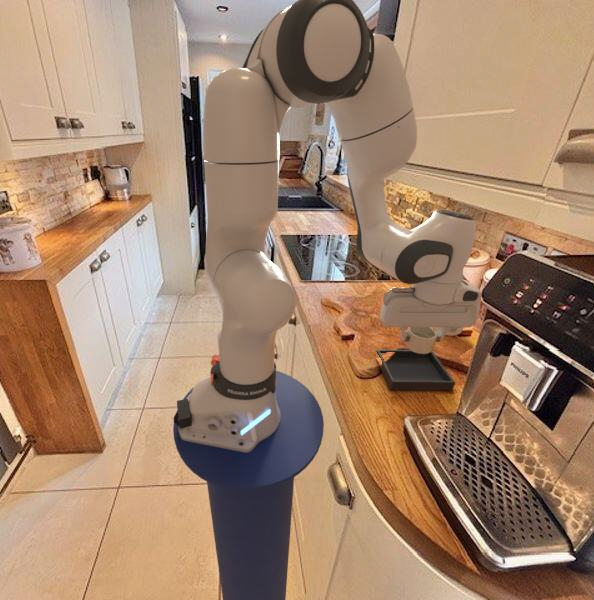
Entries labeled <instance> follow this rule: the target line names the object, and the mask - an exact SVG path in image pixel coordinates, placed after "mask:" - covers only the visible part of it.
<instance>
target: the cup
mask: <svg viewBox="0 0 594 600" xmlns="http://www.w3.org/2000/svg"><path fill="white" fill-rule="evenodd" d="M407 332H408V334H409V335H410V339H409V342H404V344H405V346H406V348H407V349H408V350H411V351H413V352H415V353H419V354H427V353H430V352H432V351H433V352H434V349H435V345H436V343H437V342H436V339H437V331H435V330H434V328H433V327H408V329H407Z"/></svg>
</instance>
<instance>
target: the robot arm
mask: <svg viewBox="0 0 594 600" xmlns="http://www.w3.org/2000/svg"><path fill="white" fill-rule="evenodd" d="M317 104H323V105H324V106H325V107H326V108H327V109H328V111H329V112H330V114H331V116H332V118H333V120H334V124H335V128H336V132H337V136H338V139H339V142H340V145H341V148H342V152H343V155H344V156H343V157H344V160H345V164H346V177H347V183H348V189H349V193H350V199H351V202H352V207H353V212H354V215H355V220H356V225H357V228H356V229H357V232H356V251H357V254H358V255H359V258H360V259H361V260H362V261H364V262H365V263H366V264H370V265H371V266H373V267H376V268H377V269H379V270H381V271H382V272H384V273H385V274H386V275H389V276H390V277H392V278H393V279H395V280H397V281H398V282H400V283H403V284H406V285H411V286H408V287H407V286H406V287H405V286H404V287H399V286H398V287H397V286H395V287H392V288H391V289H389V290H386V291H385V292H384V295H383V300H382V301H383V302H382V306H381V308H380V311H379V320H380V322H381V323H382V324H383V326H385V328H398V329H399V332H400V336H399V339H400V341H401V342H402V343H405V342H409V339H410V335H409V334H408V329H409V327H430V328H433V327H441V328H440V329H439V330H438V331H436V332H437V339H436V342H435V343H441V342H442V341H443V339H444V337H445V336H447V335H446V334H447V333H448V332H449V331H450V330H451V327H463V328H471V327H473V326H475V324H476V323H477V321H478V318H479V315H480V311H481V302H480V301H482V299H481V292H482V291H481V290H480V289H479V288H478V287H477V286H476V285H474V284H473V283H472V282H470V281H468V280H466V279H463V278H464V268H465V266H466V265H467V263H468V262H469V260H470V257H471V253H472V250H473V246H474V242H475V238H476V228H477V224H476V220H475V219H474V218H473V217H472V216H470V215H468V214H466V213H465V214H464V213H461V212H455V211H453V210H446V209H439V210H435V211H433V212H432V215H431V217H430V218H428V219H427V220H426V221H425V222H423V223H422V224H420V225H419V226H417V227H415V228H412V229H409V228H407V227H404V226H402V225H399V224H398V223H397V222H395V221H394V220H393V219H392V218H391V217H390V215H389V214H388V207H387V203H386V202H387V200H386V195H385V188H384V187H385V186H384V181H385V179H388V178H389V177H391V176H392V175H394V174H396V173H398V171H400V170H401V169H402V168H403V167H404V166H405V165H406V164H407V163H408V162H409V160H410V159H411V157H412V156H413V154H414V152H415V150H416V148H417V141H418V139H417V138H418V128H417V127H418V126H417V121H416V120H417V119H416V115H415V109H414V104H413V99H412V94H411V91H410V86H409V83H408V79H407V76H406V73H405V69H404V66H403V64H402V61H401V59H400V56H399V53H398V51H397V49H396V46H395V44H394V42H393V41H392V39H391V38H389V36H386V35H385V34H381V33H373V31H372V29H371V28H369V26H368V24H367V21H366V18H365V17H364V15H363V13H362V11H361V9H360V8H359V6H358V5H357V4H356V2H355V1H354V0H296V1H294V3H293V4H292V5H290V6H288V7H286V8H284V9H282V10H280V11H279V12H278V13H277V14H275V15H274V16H273V18H271V20H269V22H268V23H267V24H266V26H265V27H263V29H262V30H261V31H260V32H259V33H258V34H257V36H256V37H255V39H254V41H253V42H252V44H251V46H250V49H249V51H248V54H247V56H246V58H245V61H244V63H243V65H242V67H231V68H228V69H225V70H223V71H220V72H219V73H218V74H215V75H214V77H212V78H211V80H210V81H209V83H208V85H207V87H206V91H205V97H204V107H203V118H202V119H203V121H202V122H203V123H202V152H203V167H204V181H205V193H206V194H205V196H206V197H205V198H206V208H207V211H206V213H207V219H206V220H207V223H206V235H205V254H204V259H203V260H204V261H203V263H204V271H205V277H206V280H207V281H208V283H209V285H210V286H211V287H212V289H213V291H214V293H215V294H216V296H217V299H218V301H219V304H220V308H221V314H222V323H221V329H220V330H219V331H218V333H217V348H218V350H217V351H218V354H213V355H212V356H211V361H210V365H211V368H210V374H209V375H207V376H205V377H203V378H201V379H199V380H198V381H197V382H196V383H195V385H194V386H193V387H192V388H193V390H192V393H191V394H190V395H189V396H188V397H187V399H184V398H183V399H179V400H176V405H177V406H176V408H177V409H178V412H177V411H176V412H177V413H176V412H175V414H174V416H173V424H174V423H175V424H176V425H178V430H179V435H180V437H181V439H182V440H184V441H189V442H194V443H199V444H204V445H209V446H214V447H219V448H224V449H229V450H235V451H240V452H245V453H248V452H250V451H252V450H253V449H254V448H255V446H256V445H257V444H258V443H259V442H260V441H262V440H263V439H265V438H267V437H269V436H270V435H271V434H272V433H273V432H274V431H275V430H276V429H277V427H278V425H279V423H280V419H281V413H280V409H279V407H278V404H277V400H276V395H275V389H276V384H277V371H278V369H277V364H276V361H275V355H276V354H275V352H276V350H275V349H276V336H277V332H278V331H279V330H281V329H282V328H284V327H285V326H286V325H287V324H288V323H289V322H290V320H291V319H292V317H293V315H294V314H295V311H296V307H297V295H296V292H295V289H294V288H293V286H292V284H291V282H290V280H289V278H288V277H287V276H286V274H285V272H284V271H283V270H282V269H281V268H279V267H278V266H277V265H276V264H275V263H273V261H271V260H270V259H269V258H268V255H267V252H266V240H267V235H268V231H269V229H270V228H269V227H270V226H271V224H272V222H273V221H274V220H275V219H276V217H277V214H278V211H279V210H278V209H279V208H278V207H279V178H280V177H279V176H280V135H281V128H282V125H283V121H284V118H285V116H286V115H287V112H288V111H289V110H290V109H291V108H295V109H297V108H298V109H299V108H305V107H310V106H312V105H317ZM178 419H179V421H178ZM240 444H243V445H240Z"/></svg>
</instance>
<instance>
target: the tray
mask: <svg viewBox="0 0 594 600" xmlns="http://www.w3.org/2000/svg"><path fill="white" fill-rule="evenodd" d="M376 352H377V354H378V355H379V357H380V358H381V360H382V364H383V365H382V367H379V369H380V371H381V373H382V375H383V378H384V380H385V382H386V384H387V386H388V388H389V390H390V391H422V392H423V391H424V392H425V391H426V392H427V391H432V392H433V391H434V392H435V391H436V392H453V390H454V387H455V384H456V381H455V380H454V379H453V377H452V376H451V375H450V373H449V371H448V370H447V369H446V367H445V366H444V365H443V363H442V362H441V361H440V360H439V358H438V357H437V355H436V354H435V353H434V350H433V351H432V352H430V353H427V354H419V353H415V352H413V351H411V350H410V349H376ZM376 352H375V353H376ZM386 352H395V353H396V356H393V357H392V358H391V359H390V360H388V361H387V362H386V363H385V361H384V359H383V357H382V355H381V353H386Z"/></svg>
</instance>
